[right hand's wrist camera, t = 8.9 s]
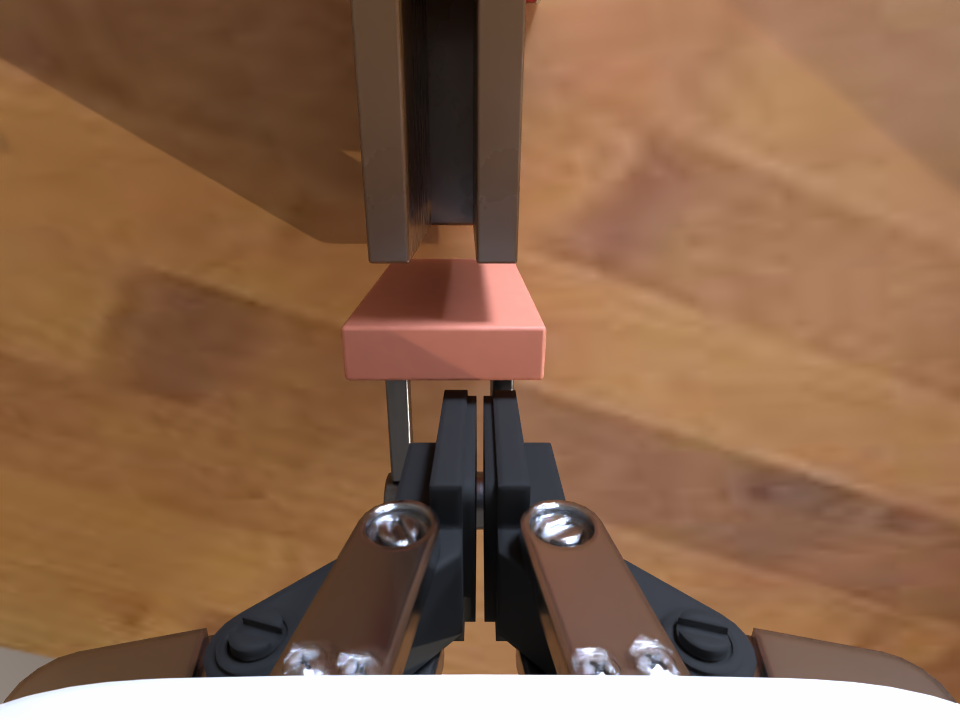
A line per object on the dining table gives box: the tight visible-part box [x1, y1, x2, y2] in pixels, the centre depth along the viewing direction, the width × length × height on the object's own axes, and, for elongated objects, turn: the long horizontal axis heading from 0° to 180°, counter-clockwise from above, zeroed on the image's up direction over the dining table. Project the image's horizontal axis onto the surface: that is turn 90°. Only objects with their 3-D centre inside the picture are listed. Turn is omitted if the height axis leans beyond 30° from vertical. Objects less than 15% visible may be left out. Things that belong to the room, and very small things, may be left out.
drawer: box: [341, 0, 546, 530], centre depth 12 cm, size 26×4×8 cm, turn 0°
